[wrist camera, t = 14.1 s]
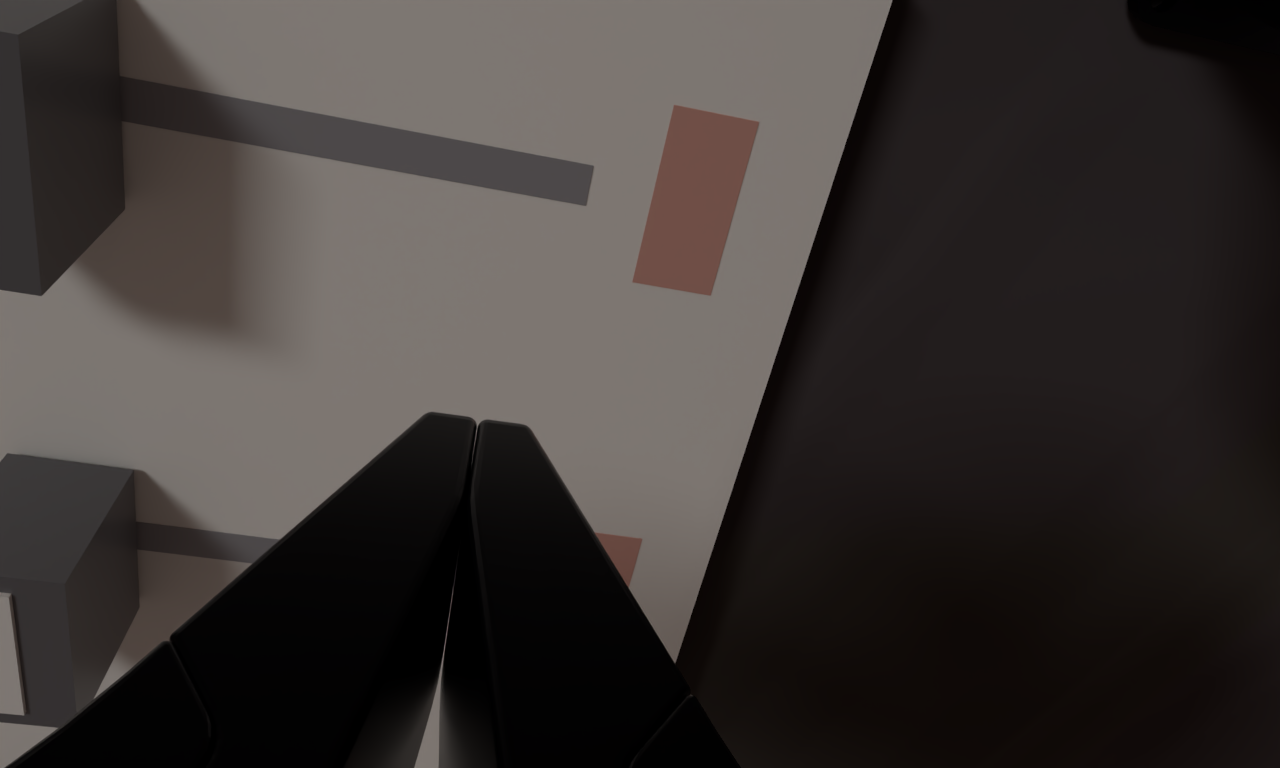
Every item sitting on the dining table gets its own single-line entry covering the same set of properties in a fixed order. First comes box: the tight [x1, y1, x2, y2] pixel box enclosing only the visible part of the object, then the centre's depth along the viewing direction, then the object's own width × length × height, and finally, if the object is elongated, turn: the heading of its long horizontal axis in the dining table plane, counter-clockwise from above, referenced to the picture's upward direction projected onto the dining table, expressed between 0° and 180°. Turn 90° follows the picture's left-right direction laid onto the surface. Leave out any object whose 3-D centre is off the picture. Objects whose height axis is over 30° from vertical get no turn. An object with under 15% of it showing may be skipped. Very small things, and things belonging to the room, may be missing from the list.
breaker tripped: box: [0, 453, 140, 728], centre depth 21 cm, size 2×4×4 cm, turn 168°
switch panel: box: [0, 0, 892, 768], centre depth 24 cm, size 20×30×2 cm, turn 168°
